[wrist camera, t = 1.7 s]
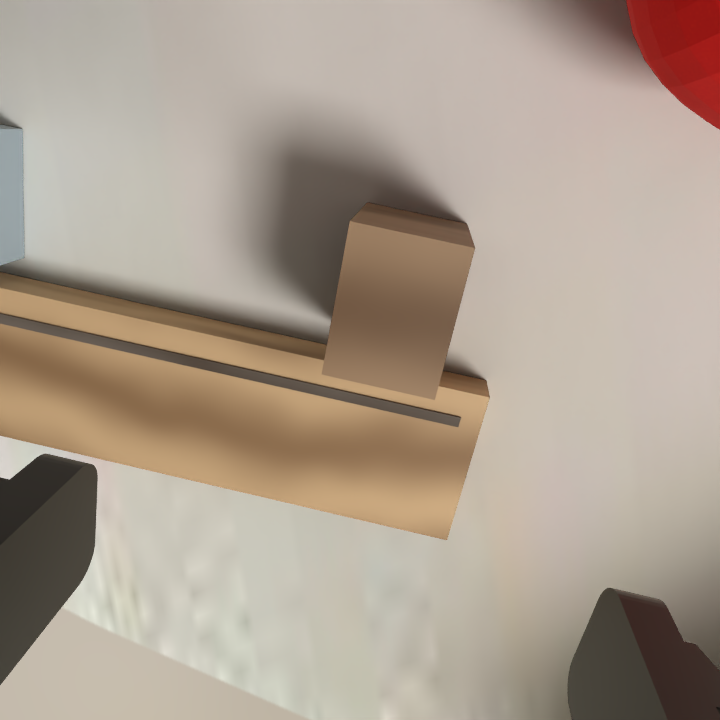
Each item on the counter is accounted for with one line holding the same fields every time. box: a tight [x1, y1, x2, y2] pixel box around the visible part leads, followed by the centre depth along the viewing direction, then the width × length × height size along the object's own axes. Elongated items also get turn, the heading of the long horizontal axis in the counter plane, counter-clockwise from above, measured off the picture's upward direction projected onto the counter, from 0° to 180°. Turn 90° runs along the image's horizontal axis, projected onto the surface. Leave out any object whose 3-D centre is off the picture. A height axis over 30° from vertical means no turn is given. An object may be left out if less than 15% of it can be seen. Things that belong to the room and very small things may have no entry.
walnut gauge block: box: [322, 202, 475, 400], centre depth 25 cm, size 6×4×6 cm
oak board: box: [0, 272, 490, 540], centre depth 30 cm, size 8×26×2 cm, turn 79°
